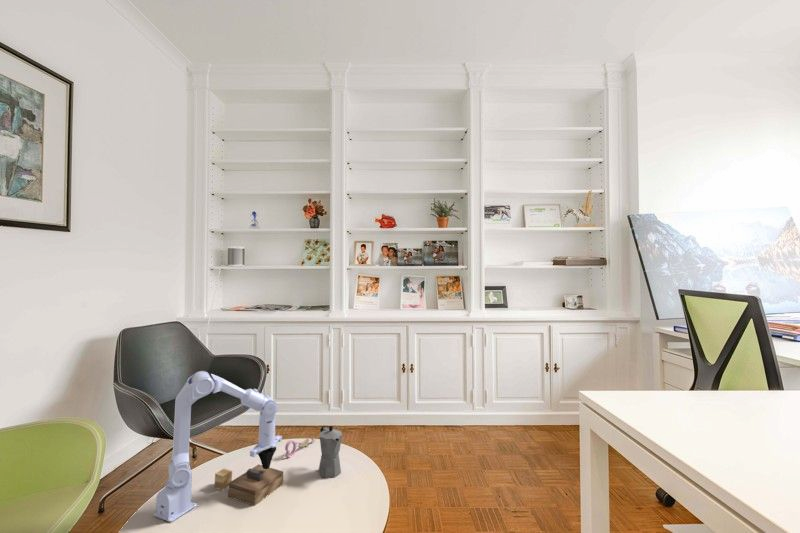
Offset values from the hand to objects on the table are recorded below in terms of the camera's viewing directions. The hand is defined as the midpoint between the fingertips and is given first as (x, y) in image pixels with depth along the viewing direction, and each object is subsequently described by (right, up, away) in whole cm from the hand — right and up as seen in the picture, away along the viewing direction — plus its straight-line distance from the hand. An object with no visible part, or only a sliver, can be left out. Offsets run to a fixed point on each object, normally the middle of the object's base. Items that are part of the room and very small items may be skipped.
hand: (266, 468), depth 137 cm
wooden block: (-15, -6, -2) cm, 16 cm away
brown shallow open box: (-2, -6, -4) cm, 7 cm away
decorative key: (+6, -7, +27) cm, 29 cm away
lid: (-2, -2, -4) cm, 5 cm away
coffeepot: (+21, -7, +10) cm, 24 cm away
